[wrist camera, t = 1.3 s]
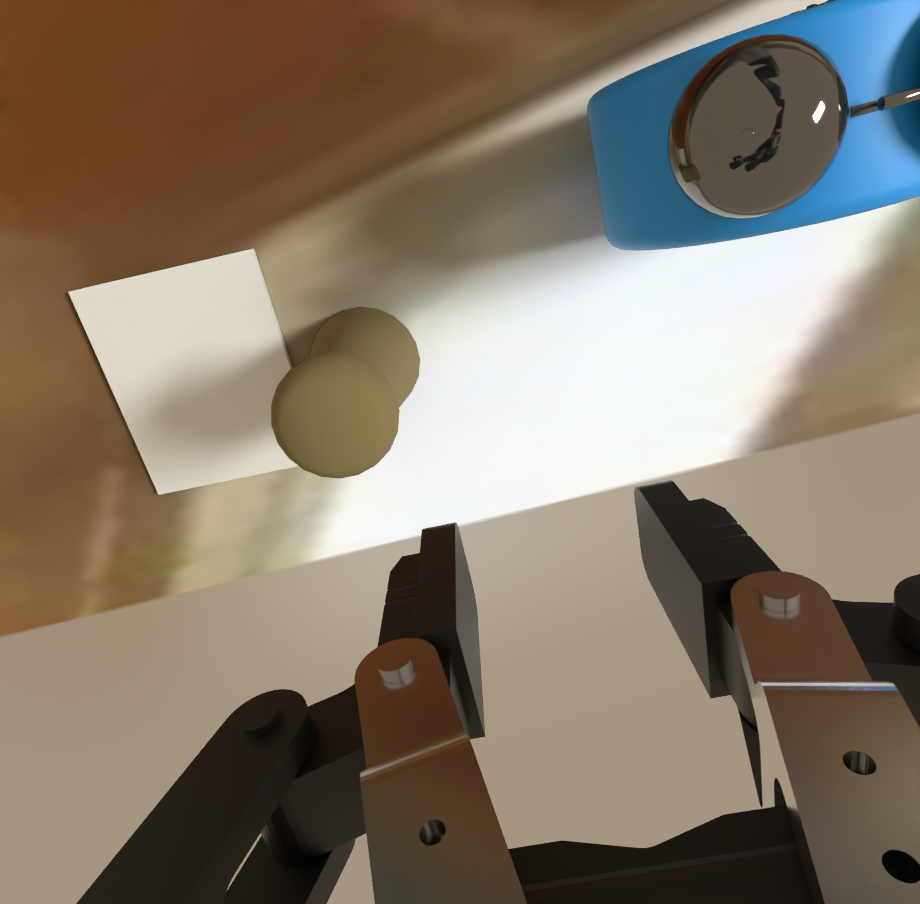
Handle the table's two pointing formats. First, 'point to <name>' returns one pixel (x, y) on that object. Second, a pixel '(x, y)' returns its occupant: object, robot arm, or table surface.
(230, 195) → the table surface
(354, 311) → the cork
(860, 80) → the alarm clock
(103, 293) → the mat
